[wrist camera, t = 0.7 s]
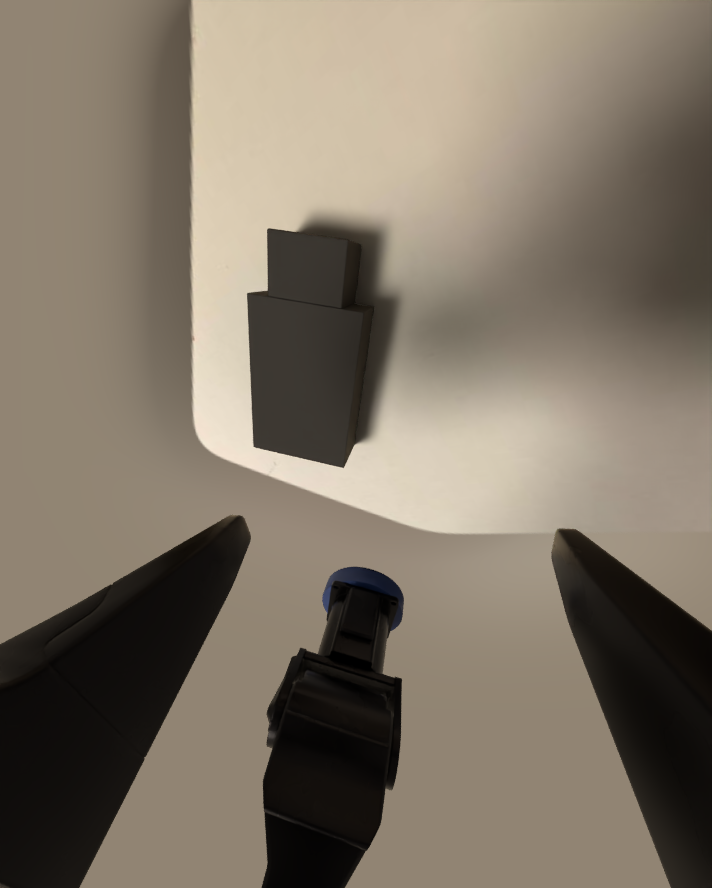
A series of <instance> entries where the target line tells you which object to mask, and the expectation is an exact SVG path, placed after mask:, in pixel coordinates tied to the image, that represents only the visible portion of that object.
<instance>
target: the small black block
mask: <svg viewBox="0 0 712 888" xmlns="http://www.w3.org/2000/svg"><path fill="white" fill-rule="evenodd" d="M361 247H362V246H361V245H360V244H358V243H355V242H353V241H350V240H348V239H341V238H334V237H327V236H319V235H312V234H305V233H298V232H291V231H284V230H277V229H267V248H268V291H262V292H252V293H247V301H248V324H249V348H250V372H251V396H252V419H253V443H254V447H256V448H260V449H264V450H269V451H273V452H277V453H282V454H286V455H290V456H295V457H299V458H303V459H307V460H312V461H316V462H320V463H325V464H329V465H333V466H338V467H342V468H344V466H345V464H346V462H347V460H348V458H349V455H350V453H351V451H352V449H353V447H354V443H355V436H356V429H357V422H358V416H359V409H360V402H361V395H362V388H363V381H364V374H365V367H366V360H367V354H368V347H369V340H370V333H371V326H372V319H373V312H374V307H373V306H366V305H360V304H354V303H355V299H356V290H357V282H358V273H359V264H360V256H361Z"/></svg>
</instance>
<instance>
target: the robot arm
mask: <svg viewBox="0 0 712 888" xmlns="http://www.w3.org/2000/svg"><path fill="white" fill-rule="evenodd" d="M250 539H251V536H250V532H249V529H248V527H247V524H246V521H245V519H244V518H243V516H240V515H230V516H228V517H226V518H224V519H223V520H221V521H219V522H217V523H216V524H214V525H212V526H211V527H209V528H207V529H205V530H204V531H202V532H200V533H199V534H197V535H195V536H194V537H192V538H190V539H188V540H187V541H185V542H183V543H182V544H180V545H178V546H176V547H174V548H173V549H171V550H169V551H168V552H166V553H164V554H162V555H161V556H159V557H157V558H155V559H154V560H152V561H150V562H149V563H147V564H145V565H143V566H142V567H140V568H138V569H136V570H135V571H133V572H131V573H130V574H128V575H126V576H124V577H123V578H121V579H119V580H118V581H116V582H114V583H113V585H109V586H107V587H105V588H104V589H102V590H100V591H99V592H97V593H95V594H93V595H92V596H90V597H88V598H86V599H84V600H83V601H81V602H79V603H78V604H76V605H74V606H72V607H70V608H68V609H66V610H64V611H63V612H61V613H59V614H57V615H55V616H53V617H51V618H50V619H48V620H46V621H44V622H42V623H40V624H38V625H36V626H34V627H32V628H31V629H29V630H27V631H25V632H23V633H21V634H19V635H17V636H15V637H13V638H12V639H9V640H8V641H6V642H4V643H2V644H0V888H79V887H80V885H81V883H82V881H83V879H84V877H85V875H86V873H87V872H88V870H89V867H90V866H91V864H92V862H93V860H94V858H95V856H96V854H97V852H98V850H99V848H100V846H101V844H102V842H103V840H104V838H105V836H106V834H107V832H108V830H109V828H110V826H111V824H112V822H113V820H114V818H115V816H116V814H117V813H118V810H119V809H120V807H121V805H122V803H123V801H124V799H125V797H126V795H127V793H128V791H129V789H130V787H131V785H132V783H133V781H134V779H135V777H136V775H137V773H138V771H139V769H140V767H141V765H142V763H143V761H144V757H146V755H147V753H148V751H149V749H150V747H151V745H152V743H153V741H154V739H155V737H156V735H157V734H158V731H159V730H160V728H161V726H162V723H163V722H164V720H165V718H166V716H167V714H168V712H169V710H170V708H171V706H172V704H173V702H174V700H175V698H176V696H177V694H178V692H179V690H180V688H181V686H182V684H183V682H184V680H185V678H186V677H187V675H188V673H189V671H190V669H191V667H192V665H193V663H194V661H195V658H196V657H197V655H198V653H199V651H200V649H201V647H202V645H203V643H204V641H205V639H206V637H207V635H208V633H209V631H210V629H211V628H212V625H213V624H214V622H215V619H216V618H217V616H218V614H219V612H220V609H221V608H222V606H223V604H224V602H225V600H226V598H227V596H228V594H229V592H230V590H231V588H232V586H233V583H234V581H235V579H236V576H237V574H238V571H239V569H240V566H241V564H242V561H243V559H244V556H245V554H246V551H247V548H248V546H249V543H250ZM552 562H553V566H554V570H555V573H556V578H557V581H558V585H559V589H560V593H561V597H562V600H563V604H564V608H565V612H566V615H567V619H568V622H569V625H570V628H571V630H572V633H573V636H574V638H575V641H576V644H577V646H578V649H579V651H580V654H581V657H582V659H583V662H584V664H585V667H586V669H587V672H588V675H589V677H590V680H591V682H592V685H593V688H594V690H595V693H596V695H597V698H598V700H599V703H600V706H601V708H602V711H603V713H604V716H605V719H606V721H607V723H608V726H609V729H610V732H611V734H612V737H613V739H614V742H615V744H616V747H617V750H618V752H619V755H620V757H621V760H622V762H623V765H624V768H625V770H626V773H627V775H628V778H629V780H630V783H631V786H632V788H633V791H634V794H635V796H636V798H637V801H638V804H639V806H640V809H641V812H642V814H643V817H644V819H645V822H646V824H647V827H648V830H649V832H650V835H651V837H652V840H653V843H654V845H655V848H656V850H657V853H658V855H659V858H660V860H661V863H662V866H663V868H664V871H665V874H666V876H667V879H668V881H669V884H670V886H671V888H712V631H711V630H710V629H709V628H707V627H706V626H705V625H703V624H702V623H701V622H699V621H698V620H697V619H695V618H694V617H693V616H691V615H690V614H689V613H687V612H686V611H684V610H683V609H682V608H681V607H679V606H678V605H676V604H675V603H674V602H673V601H671V600H670V599H669V598H667V597H666V596H665V595H663V594H662V593H661V592H659V591H658V590H657V589H655V588H654V587H653V586H651V585H650V584H648V583H647V582H646V581H644V580H643V579H642V578H641V577H639V576H638V575H637V574H635V573H634V572H633V571H631V570H630V569H629V568H627V567H626V566H625V565H623V564H622V563H621V562H619V561H618V560H617V559H615V558H614V557H613V556H611V555H610V554H609V553H607V552H606V551H605V550H603V549H602V548H601V547H599V546H598V545H597V544H595V543H594V542H593V541H591V540H590V539H589V538H587V537H586V536H585V535H583V534H582V533H581V532H579V531H578V530H576V529H561V528H560V529H558V530H557V531H556V533H555V538H554V542H553V548H552ZM398 606H399V599H398V598H397V597H395V596H391V595H388V594H384V593H380V592H377V591H373V590H370V589H366V588H362V587H359V586H355V585H352V584H348V583H344V582H341V581H337V580H335V581H333V582H332V585H331V592H330V599H329V606H328V613H327V625H326V629H325V632H324V635H323V638H322V642H321V645H320V648H319V652H318V654H316V653H312V652H309V651H306V649H303V648H300V650H299V652H298V654H297V656H293V657H292V658H291V661H290V664H289V666H288V669H287V672H286V674H285V677H284V679H283V681H282V683H281V685H280V687H279V688H278V691H277V692H276V694H275V696H274V698H273V700H272V701H271V703H270V705H269V707H268V710H267V717H268V721H269V723H270V724H269V728H268V732H269V733H268V737H267V747H270V748H273V749H272V752H271V755H270V758H269V762H268V765H267V769H266V772H265V775H264V779H263V800H264V801H263V803H264V812H265V828H266V844H267V860H268V864H267V869H266V873H265V877H264V881H263V885H262V888H345V886H346V885H347V883H348V881H349V879H350V877H351V876H352V874H353V872H354V870H355V869H356V867H357V865H358V864H359V862H360V860H361V858H362V857H363V855H364V853H365V851H367V849H368V848H369V847H370V845H371V842H372V841H373V838H374V837H375V835H376V833H377V831H378V829H379V826H380V823H381V819H382V812H383V804H384V795H385V788H386V789H389V790H392V789H393V786H394V783H395V779H396V773H397V767H398V760H399V751H400V740H401V739H400V738H401V691H402V690H401V689H402V679H401V678H397V677H395V678H393V677H390V676H387V675H384V674H382V673H383V664H384V657H385V649H386V641H387V638H388V636H389V633H390V630H391V627H392V624H393V621H394V618H395V615H396V612H397V609H398Z"/></svg>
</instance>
